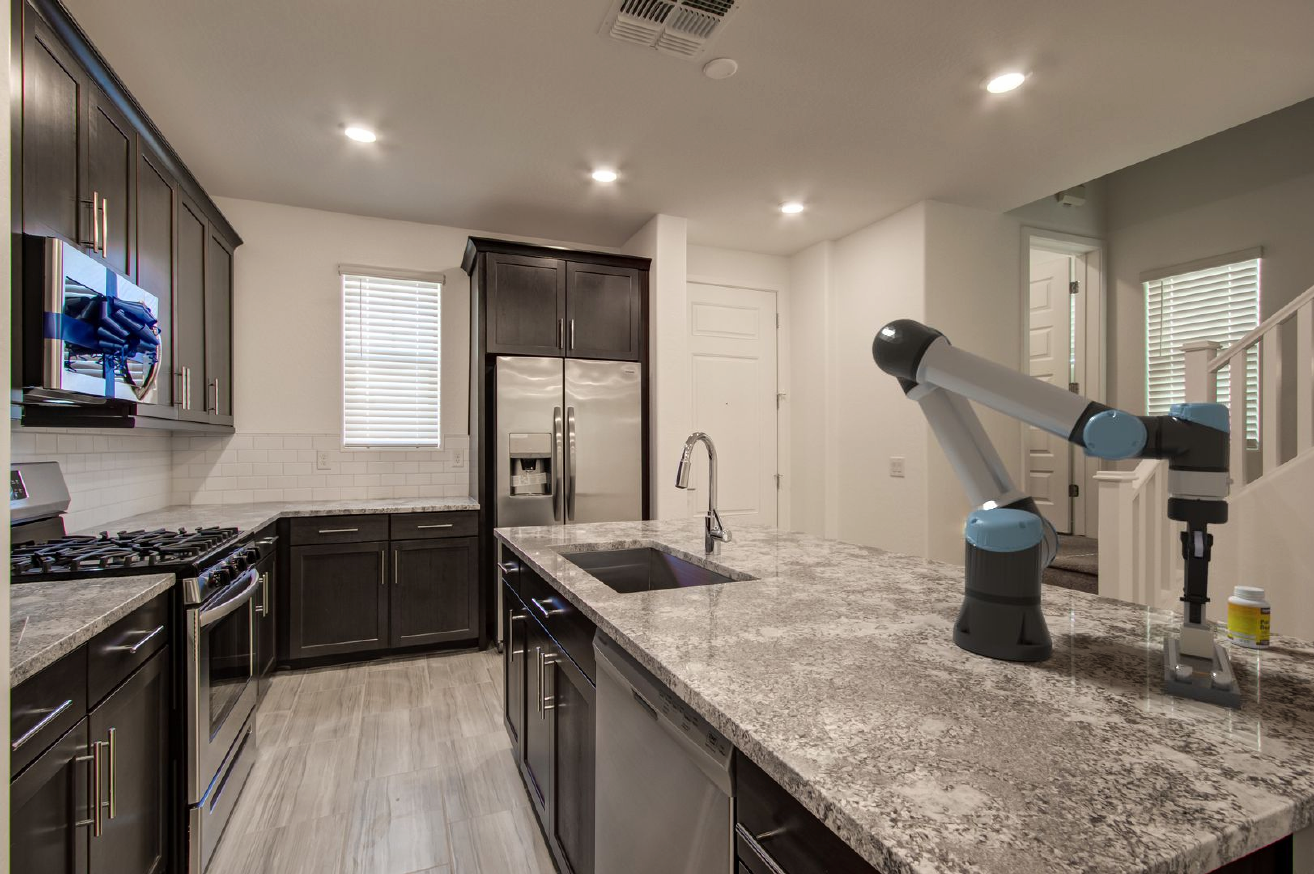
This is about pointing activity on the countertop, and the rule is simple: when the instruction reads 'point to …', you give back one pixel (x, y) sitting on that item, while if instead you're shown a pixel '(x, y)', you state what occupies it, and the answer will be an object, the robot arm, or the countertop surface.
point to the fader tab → (1196, 640)
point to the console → (1200, 676)
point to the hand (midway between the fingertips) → (1193, 641)
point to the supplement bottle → (1249, 618)
